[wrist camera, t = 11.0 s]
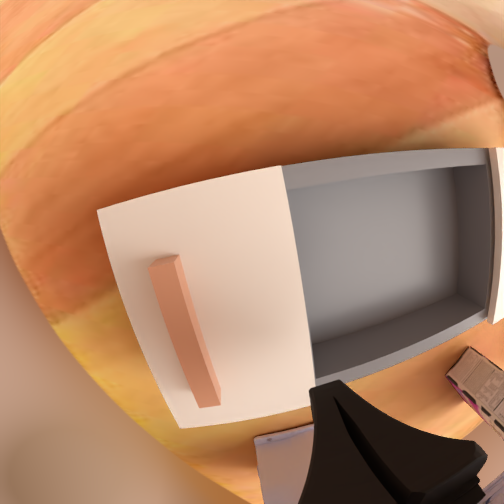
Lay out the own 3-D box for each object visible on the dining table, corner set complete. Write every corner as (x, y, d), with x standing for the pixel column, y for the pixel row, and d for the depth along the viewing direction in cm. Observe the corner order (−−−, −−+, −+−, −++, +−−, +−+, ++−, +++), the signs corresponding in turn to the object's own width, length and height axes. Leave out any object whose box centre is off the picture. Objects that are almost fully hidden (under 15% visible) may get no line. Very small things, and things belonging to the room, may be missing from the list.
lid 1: (181, 420, 16) (177, 443, 14) (103, 208, 13) (83, 212, 11) (313, 395, 16) (323, 418, 14) (277, 166, 13) (287, 162, 11)
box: (285, 356, 21) (299, 396, 17) (250, 175, 18) (258, 170, 13) (457, 297, 22) (490, 316, 17) (451, 150, 19) (491, 148, 14)
